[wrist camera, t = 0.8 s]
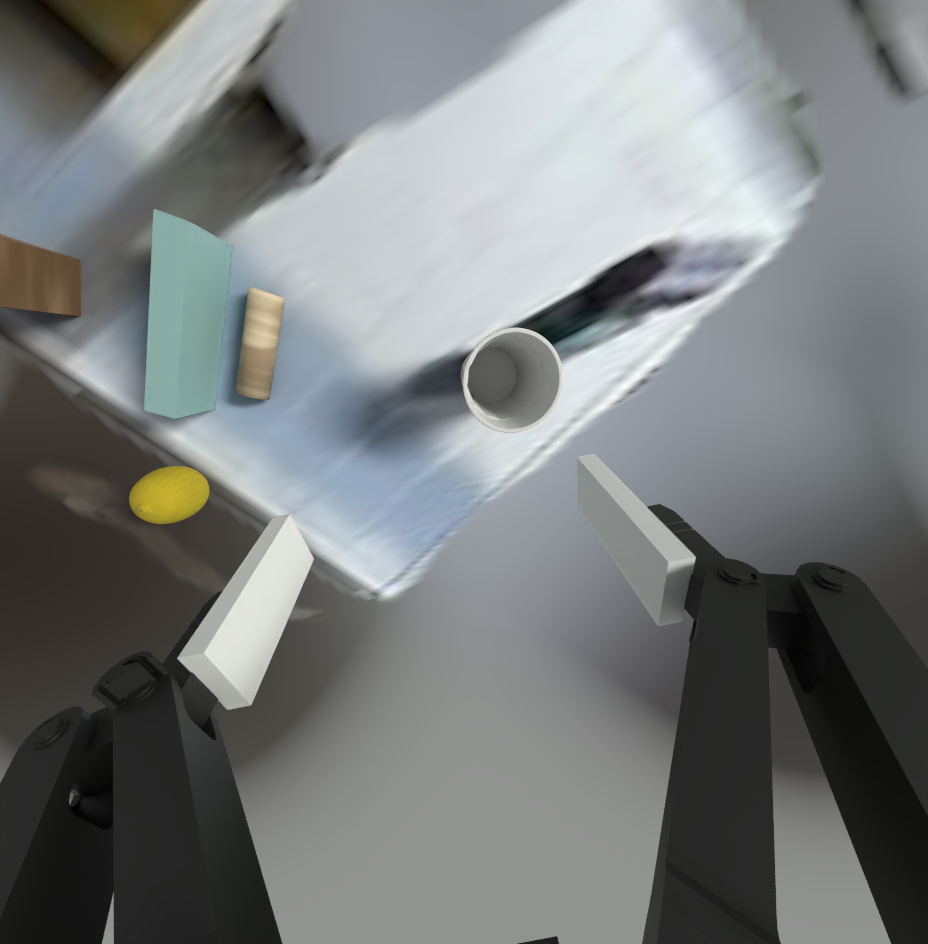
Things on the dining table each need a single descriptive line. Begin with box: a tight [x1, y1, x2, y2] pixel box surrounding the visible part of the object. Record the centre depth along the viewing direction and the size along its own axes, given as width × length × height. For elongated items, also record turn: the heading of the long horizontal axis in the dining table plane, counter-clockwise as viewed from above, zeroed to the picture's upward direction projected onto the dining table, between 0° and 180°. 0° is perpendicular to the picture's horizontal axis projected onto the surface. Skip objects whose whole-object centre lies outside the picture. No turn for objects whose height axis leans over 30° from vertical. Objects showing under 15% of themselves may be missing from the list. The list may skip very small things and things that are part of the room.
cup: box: [461, 328, 563, 433], centre depth 32 cm, size 8×8×12 cm
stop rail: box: [144, 209, 232, 419], centre depth 31 cm, size 2×16×6 cm, turn 162°
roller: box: [236, 287, 285, 400], centre depth 34 cm, size 10×3×3 cm, turn 163°
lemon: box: [129, 466, 209, 524], centre depth 35 cm, size 6×6×8 cm
